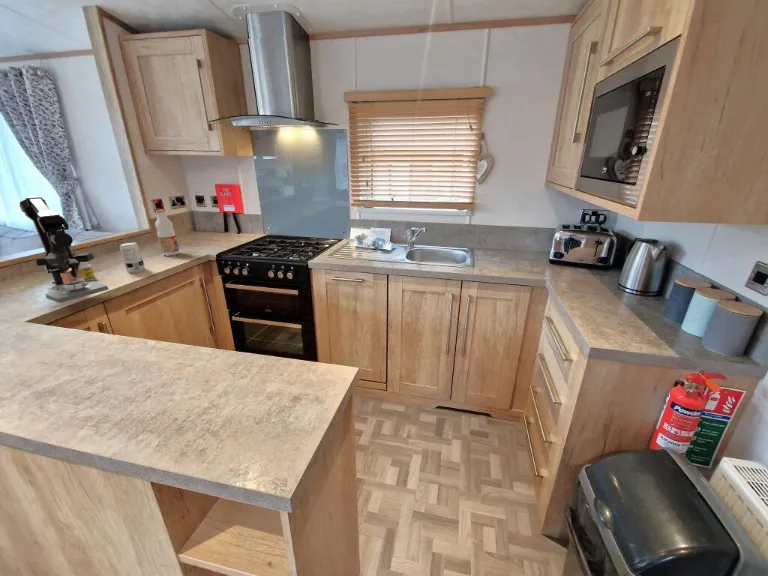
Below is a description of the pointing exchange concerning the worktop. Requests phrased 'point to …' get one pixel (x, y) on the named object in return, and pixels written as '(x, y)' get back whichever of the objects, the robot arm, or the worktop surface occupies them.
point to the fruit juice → (166, 234)
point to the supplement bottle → (86, 271)
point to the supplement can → (132, 257)
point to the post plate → (76, 292)
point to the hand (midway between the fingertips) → (72, 277)
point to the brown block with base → (72, 280)
